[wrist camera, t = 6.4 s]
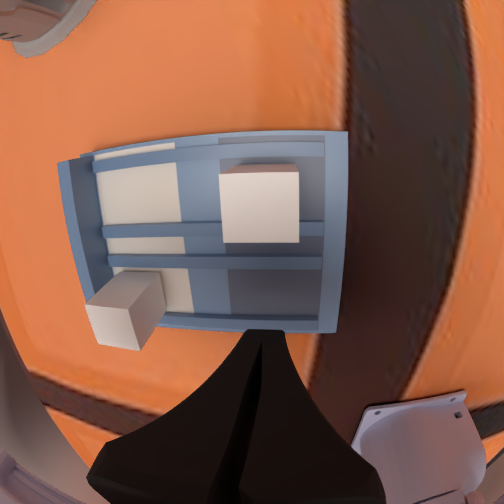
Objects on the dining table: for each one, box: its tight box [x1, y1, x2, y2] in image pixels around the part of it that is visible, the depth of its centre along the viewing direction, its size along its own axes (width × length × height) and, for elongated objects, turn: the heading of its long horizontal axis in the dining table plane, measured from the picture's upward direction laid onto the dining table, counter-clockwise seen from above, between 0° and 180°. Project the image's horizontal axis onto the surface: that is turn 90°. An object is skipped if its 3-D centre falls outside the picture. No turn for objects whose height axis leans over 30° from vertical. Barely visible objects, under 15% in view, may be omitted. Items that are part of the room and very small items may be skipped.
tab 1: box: [84, 271, 167, 351], centre depth 13 cm, size 2×2×4 cm
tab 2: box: [219, 163, 299, 243], centre depth 11 cm, size 2×2×4 cm
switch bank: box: [57, 130, 348, 333], centre depth 13 cm, size 13×10×3 cm
